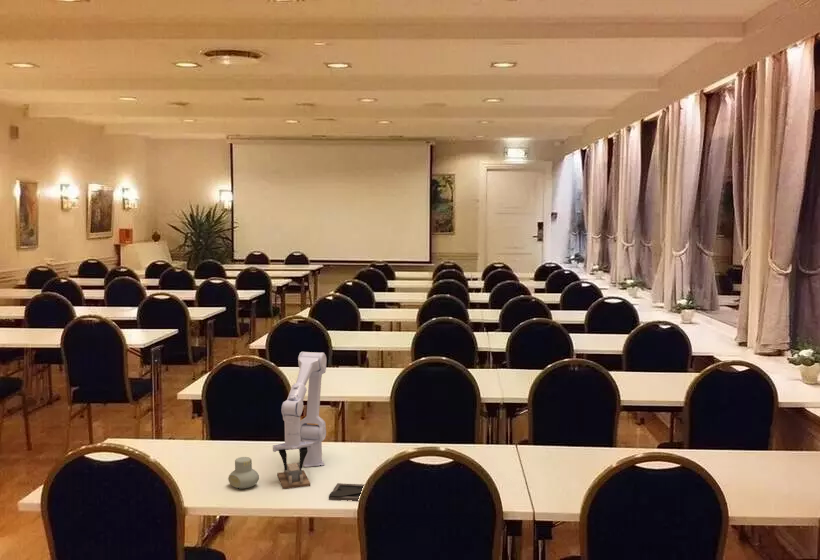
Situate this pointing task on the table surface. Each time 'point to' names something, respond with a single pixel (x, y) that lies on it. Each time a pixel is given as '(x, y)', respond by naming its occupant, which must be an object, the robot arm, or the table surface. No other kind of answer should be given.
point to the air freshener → (243, 474)
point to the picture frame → (346, 492)
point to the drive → (293, 472)
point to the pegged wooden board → (285, 485)
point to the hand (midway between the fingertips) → (293, 468)
